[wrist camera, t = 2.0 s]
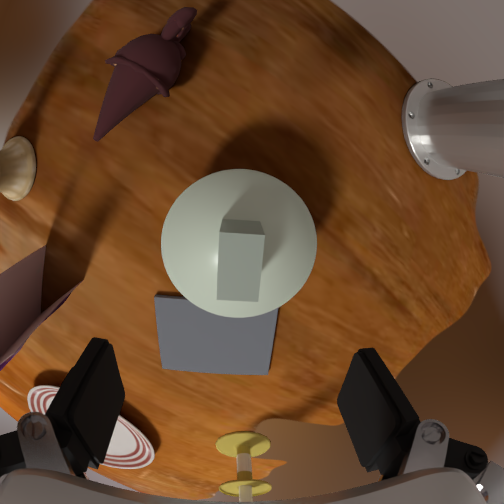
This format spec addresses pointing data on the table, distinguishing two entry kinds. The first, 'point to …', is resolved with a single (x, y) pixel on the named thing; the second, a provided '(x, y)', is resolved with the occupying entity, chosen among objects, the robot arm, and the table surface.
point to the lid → (238, 243)
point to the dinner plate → (123, 438)
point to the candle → (244, 463)
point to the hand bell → (17, 168)
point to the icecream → (144, 70)
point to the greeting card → (22, 303)
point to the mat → (212, 339)
